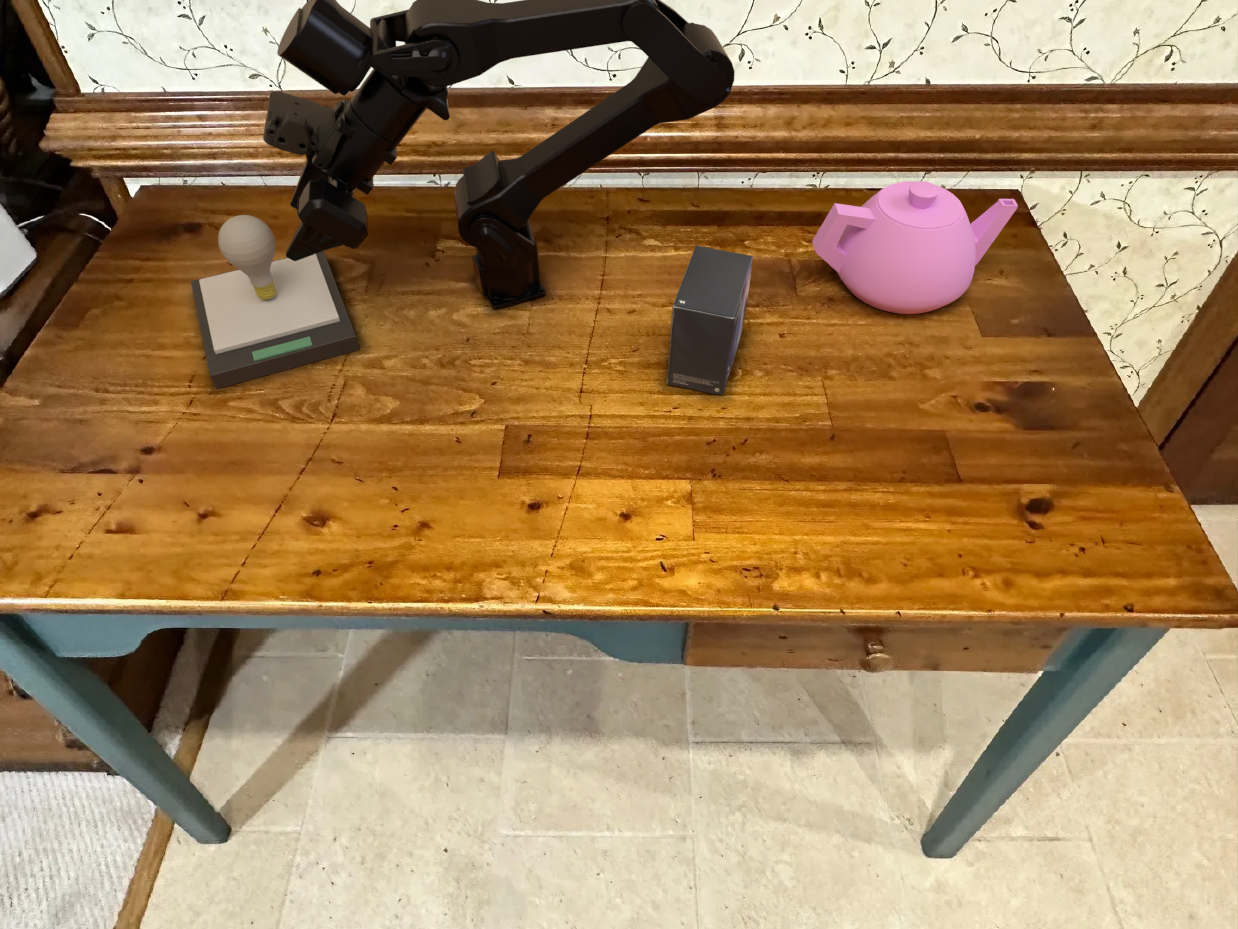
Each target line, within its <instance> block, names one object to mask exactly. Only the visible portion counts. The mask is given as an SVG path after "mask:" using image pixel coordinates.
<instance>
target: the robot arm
mask: <svg viewBox="0 0 1238 929" xmlns="http://www.w3.org/2000/svg"><path fill="white" fill-rule="evenodd" d="M397 42H400V43H401V42H402V43H404V44H401V45H397ZM625 42H630V43H632V44H634V45H635V47H637V48H638V49H639V50H641V51H642V52H643V53H644V54H645V55H646V56H647V58H646V60H645V61H644V63H643V64H642V66H641V67H640V69H639V71H638V72H637V73H636V75H635V76H634V78H633V79H632V80H631V81H630V82H628V83H627V84H625V85H624V86H622V87H620V88H619V89H617V90H616V91H615V92H613V93H612V94H610V95H609V96H607V97H606V98H605V99H603V100H602V101H600V102H599V103H597V104H596V105H594V106H593V107H591V108H589V109H588V110H587V111H585V112H584V113H582V114H581V115H579V116H578V117H577V118H575V119H574V120H572V121H571V122H569V123H568V124H566V125H565V126H564V127H562V128H560V129H559V130H558V131H556V132H554V133H553V134H551V135H550V136H548V137H547V138H546V139H544V140H542V141H541V142H540V143H539V144H537V145H536V146H534V147H533V148H530V149H529V150H528V151H526V152H525V153H523V154H522V155H520V156H519V157H516V158H510V159H502V160H500V159H499V157H498V155H497V153H496V151H494V150H491V151H489V152H487V153H486V154H485V155H484V156H483V157H482V158H481V159H480V160H478V162H476V163H474V164H473V165H471V166H466V167H463V168H462V174H463V175H462V176H461V177H460V178H459V179H458V180H457V182H456V183H455V188H454V194H453V197H454V198H453V199H454V205H455V207H454V208H455V214H456V222H457V229H458V233H459V235H460V237H461V239H462V240H463V241H464V242H465V243H466V244H468V245H469V246H471V247H473V248H475V252H476V254H473V255H472V257H471V258H472V265H473V271H474V272H473V273H474V277H475V279H474V280H475V284H476V286H477V288H478V290H479V292H480V294H481V296H482V297H483V298H486V300H487V301H488V303H489V305H490V308H492V309H493V310H499V309H502V308H506V307H510V306H513V305H517V304H521V303H524V302H528V301H532V300H536V299H539V298H543V297H545V296H546V294H547V290H546V289H545V287H544V285H543V284H542V282H541V276H540V265H539V252H538V242H537V240H536V239H535V237H534V235H533V229H532V225H531V221H530V220H531V219H530V218H531V217H532V215H533V214H534V213H535V211H536V209H537V208H538V206H539V205H540V203H541V202H543V200H544V199H545V198H547V197H549V196H550V195H552V194H553V193H554V192H556V191H557V190H559V189H560V188H562V187H564V186H565V185H566V184H568V183H570V182H571V181H573V180H574V179H576V178H577V177H579V176H580V175H582V174H583V173H585V172H586V171H588V170H589V169H591V168H592V167H594V166H596V165H597V164H598V163H601V162H602V161H603V160H604V159H607V158H608V157H610V156H611V155H612V154H614V153H615V152H617V151H619V150H620V149H621V148H623V147H624V146H626V145H628V144H629V143H630V142H632V141H634V140H635V139H637V138H638V137H639V136H641V135H643V134H644V133H646V132H647V131H649V130H651V129H653V127H655V126H657V125H659V124H666V123H674V122H682V121H687V120H690V119H693V118H695V117H697V116H699V115H702V114H703V113H706V112H708V111H710V110H713V109H714V108H717V107H718V106H720V105H721V104H722V103H724V102H725V101H726V100H727V99H728V98H729V96H730V95H731V94H732V88H733V85H734V82H735V72H736V71H735V68H734V65H733V62H732V60H731V59H730V57H729V55H728V53H727V52H726V50H725V48H724V47H723V45H722V43H721V41H720V40H719V38H718V37H717V35H716V34H715V32H714V31H713V30H712V29H711V28H709V26H706V25H704V24H700V23H696V22H695V23H694V22H688V21H687V20H686V19H685V18H684V17H683V16H682V15H681V14H679V13H678V12H677V11H676V10H675V9H674V8H672V7H671V6H670V5H668V4H667V3H665V2H664V1H662V0H516V1H515V0H514V1H509V2H488V1H484V0H415V1H413V2H412V4H411V5H410V7H409V8H408V9H405V10H401V11H396V12H392V13H388V14H383V15H379V16H376V17H375V16H374V17H372V18H371V19H370V20H369V26H368V25H367V24H365V23H364V22H363V21H362V20H360V19H359V18H358V17H356V16H355V15H353V14H352V13H351V12H350V11H348V10H347V9H345V7H343V6H342V5H341V4H340V3H339V2H338V1H337V0H307V2H305V3H304V4H303V6H302V7H298V8H297V10H296V12H295V13H294V15H293V16H292V17H291V19H290V21H289V23H288V24H287V27H286V29H285V31H284V32H283V35H282V37H281V38H280V42H279V43H278V44H279V45H278V47H277V52H276V53H277V54H276V55H277V56H278V57H279V58H281V59H283V60H284V61H286V62H287V63H289V64H290V65H291V66H293V67H295V68H296V69H297V70H299V71H300V72H302V73H303V74H305V76H307V77H309V78H311V79H312V80H314V82H317V83H318V84H319V85H321V86H322V87H324V88H325V89H326V90H328V91H329V92H331V93H333V95H337V94H340V95H342V96H343V97H344V98H343V100H341V99H338V101H337V102H336V104H335V105H334V106H333V107H330V106H328V105H321V104H319V103H317V102H316V101H312V100H309V99H305V98H302V97H299V96H296V95H292V94H289V93H286V92H283V91H278V90H273V91H271V92H270V93H269V96H268V97H269V98H268V105H267V109H266V117H265V122H264V129H263V130H264V131H263V136H262V139H263V141H264V143H265V144H267V145H268V146H270V147H273V148H277V149H279V150H280V151H284V152H286V153H291V154H294V155H298V156H304V155H305V158H306V159H305V161H304V164H303V168H302V169H301V170H302V171H301V173H300V176H299V178H298V181H297V184H296V186H295V189H294V192H293V195H292V197H291V200H290V203H289V205H290V206H291V208H293V209H295V210H296V214H297V217H298V219H299V220H300V223H299V225H298V227H297V229H296V231H295V233H294V235H293V237H292V239H291V241H290V243H289V246H288V248H287V250H286V252H285V258H289V259H291V260H293V261H298V260H300V259H303V258H306V257H309V256H311V255H314V254H317V253H319V252H322V251H324V252H325V251H328V250H331V249H334V248H338V247H342V246H344V247H346V248H349V249H352V250H357V249H359V248H360V247H361V245H362V244H363V243H364V241H366V239H367V238H368V237H369V214H368V210H367V207H366V204H365V203H363V202H362V201H360V200H359V199H357V198H355V194H354V193H355V190H356V189H357V190H358V191H360V192H362V193H363V194H365V195H366V196H368V195H369V194H370V193H371V192H372V191H373V189H374V177H375V175H376V174H377V173H378V172H379V171H380V169H381V168H382V167H383V165H384V164H385V163H387V164H388V165H390V166H392V165H393V164H394V163H395V161H396V160H397V159H398V153H397V152H398V151H397V148H398V146H399V145H400V144H401V143H402V141H403V140H404V138H405V137H406V136H407V135H408V133H409V132H410V131H411V130H412V128H413V127H415V125H416V124H417V122H418V120H420V118H421V117H422V116H423V114H424V113H425V112H426V110H427V109H428V110H429V111H430V112H431V113H433V114H435V115H436V116H437V117H439V118H440V119H442V120H443V121H448V120H449V119H450V117H451V114H450V109H449V101H448V95H449V89H448V87H449V86H453V85H456V84H459V83H462V82H465V81H469V80H471V79H473V78H477V77H479V76H481V75H483V74H485V73H486V72H488V71H489V70H491V69H492V68H494V67H495V66H497V65H498V64H501V63H503V62H506V61H509V60H513V59H518V58H519V59H520V58H525V57H532V56H538V55H545V54H553V53H559V52H565V51H571V50H577V49H585V48H586V49H587V48H592V47H599V46H607V45H610V44H611V45H613V44H618V43H625ZM370 69H372V70H371V71H370ZM369 71H370V73H369V74H368V72H369ZM366 76H367V77H366ZM364 79H365V80H364ZM362 82H363V83H362ZM359 86H360V87H359ZM355 90H356V92H355V93H354V94H353V96H352V98H351V99H350V100H348V99H347V98H345V96H346V95H347V94H348V93H352V92H354V91H355Z"/></svg>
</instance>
